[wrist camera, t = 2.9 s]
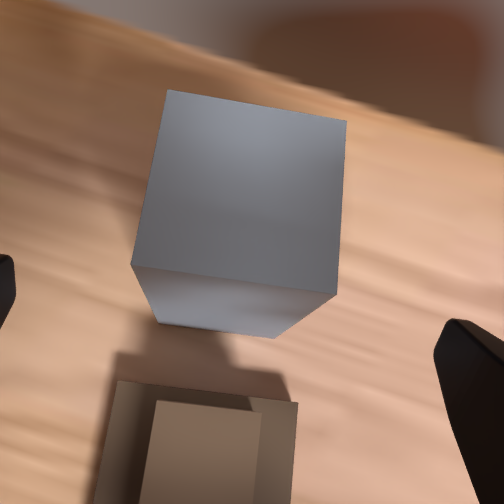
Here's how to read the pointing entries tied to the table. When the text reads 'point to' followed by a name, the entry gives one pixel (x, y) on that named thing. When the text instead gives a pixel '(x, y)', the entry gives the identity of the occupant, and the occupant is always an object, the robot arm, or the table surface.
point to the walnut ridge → (196, 448)
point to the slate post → (240, 216)
